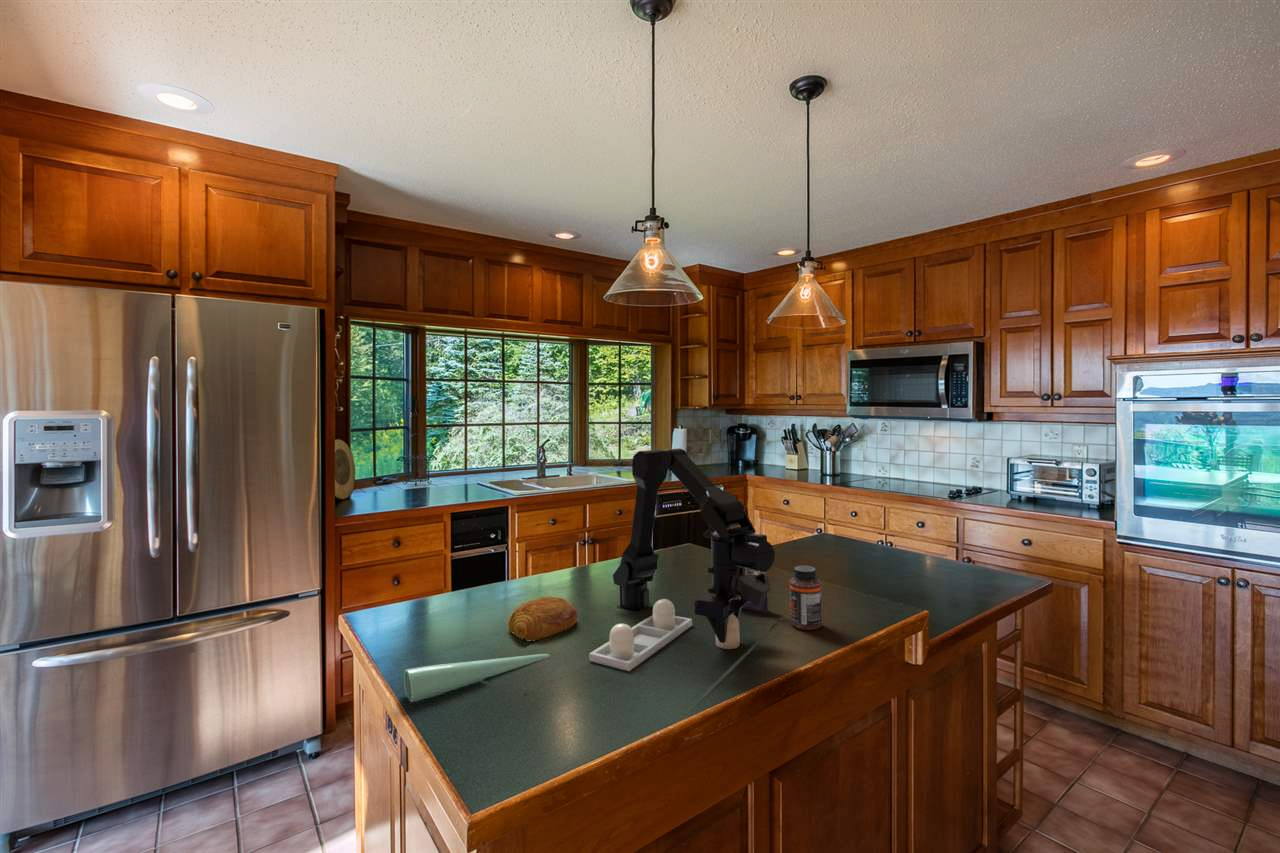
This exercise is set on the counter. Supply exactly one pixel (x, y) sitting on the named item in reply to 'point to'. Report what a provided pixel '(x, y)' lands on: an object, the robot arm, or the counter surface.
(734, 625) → the tan egg
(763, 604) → the flask
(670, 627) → the cream egg
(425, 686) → the long green cone
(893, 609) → the counter surface
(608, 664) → the egg carton
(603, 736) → the counter surface
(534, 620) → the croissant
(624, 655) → the cream egg
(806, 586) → the supplement bottle
